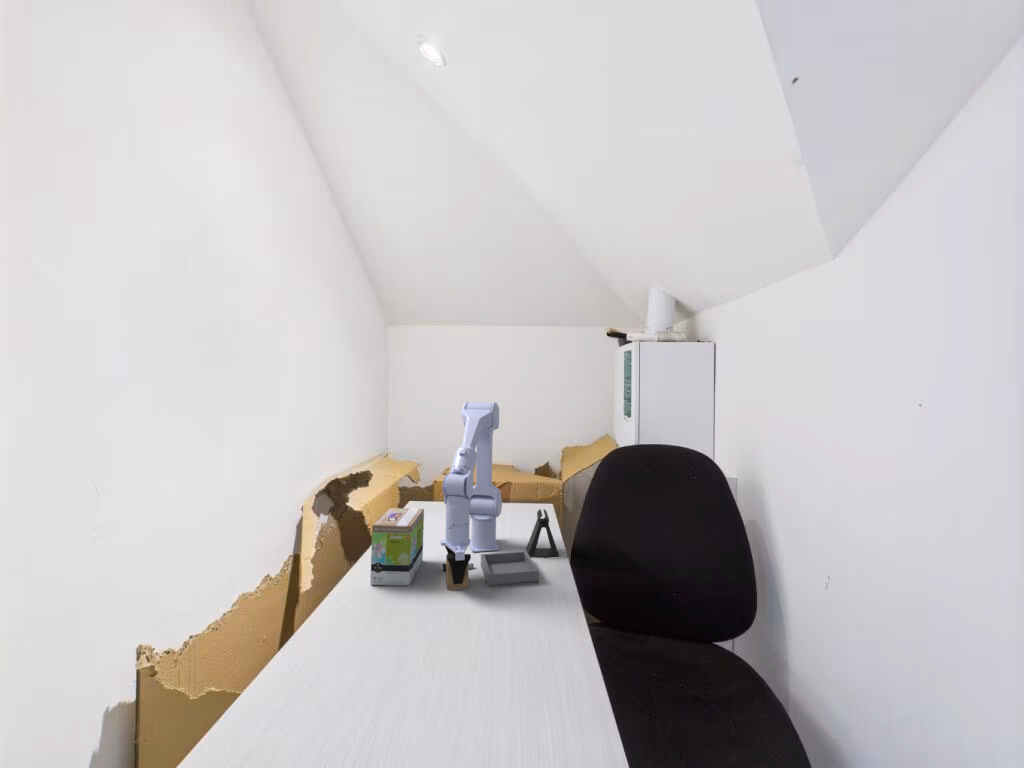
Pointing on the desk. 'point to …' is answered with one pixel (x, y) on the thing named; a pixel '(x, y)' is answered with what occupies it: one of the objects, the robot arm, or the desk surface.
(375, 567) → the tea box
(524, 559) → the tray
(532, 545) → the phone stand
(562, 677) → the desk surface
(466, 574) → the block
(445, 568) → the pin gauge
